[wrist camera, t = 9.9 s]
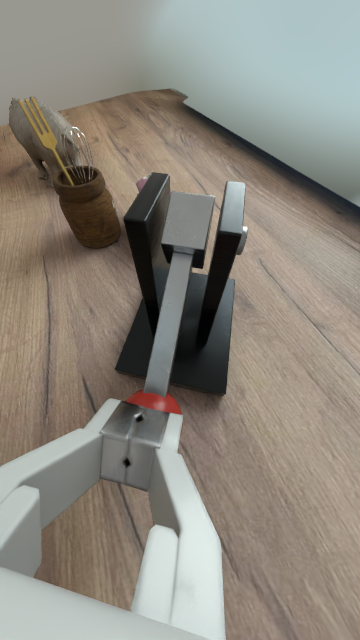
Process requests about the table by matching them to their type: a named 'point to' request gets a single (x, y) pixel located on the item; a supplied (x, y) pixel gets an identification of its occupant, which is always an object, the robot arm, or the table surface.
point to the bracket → (203, 293)
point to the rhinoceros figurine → (30, 139)
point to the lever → (175, 291)
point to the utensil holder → (79, 191)
